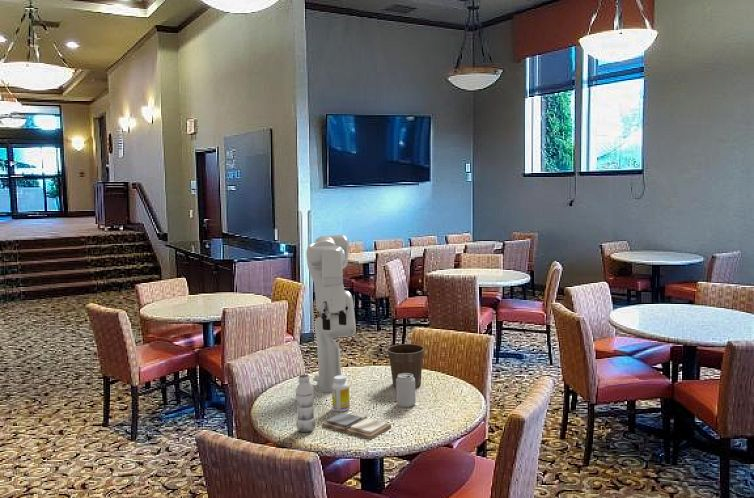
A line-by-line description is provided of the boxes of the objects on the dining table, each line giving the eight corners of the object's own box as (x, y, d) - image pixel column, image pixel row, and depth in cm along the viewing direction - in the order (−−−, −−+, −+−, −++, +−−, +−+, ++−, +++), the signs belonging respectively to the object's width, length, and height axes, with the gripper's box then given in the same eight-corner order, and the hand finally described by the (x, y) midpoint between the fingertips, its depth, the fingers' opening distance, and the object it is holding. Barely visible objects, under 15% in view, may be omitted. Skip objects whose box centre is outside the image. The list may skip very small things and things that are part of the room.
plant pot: (381, 382, 270) (380, 346, 269) (414, 376, 277) (413, 341, 276) (398, 393, 256) (397, 355, 254) (432, 387, 263) (431, 350, 261)
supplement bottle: (352, 406, 242) (351, 375, 241) (346, 413, 236) (344, 380, 235) (336, 405, 245) (335, 373, 243) (330, 411, 238) (328, 379, 237)
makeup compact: (322, 426, 224) (322, 421, 224) (343, 415, 233) (343, 410, 233) (371, 439, 211) (370, 433, 211) (391, 427, 220) (390, 422, 220)
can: (414, 408, 238) (413, 378, 237) (395, 407, 240) (394, 377, 239) (417, 401, 246) (416, 372, 244) (398, 400, 247) (397, 371, 246)
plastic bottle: (297, 427, 223) (294, 374, 221) (316, 426, 224) (313, 372, 222) (296, 435, 217) (293, 379, 215) (315, 433, 217) (313, 378, 215)
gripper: (338, 278, 237) (340, 322, 239) (309, 284, 223) (312, 331, 224) (354, 279, 233) (356, 323, 234) (326, 285, 219) (328, 332, 220)
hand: (334, 327), depth 229 cm, fingers open, 9 cm apart
